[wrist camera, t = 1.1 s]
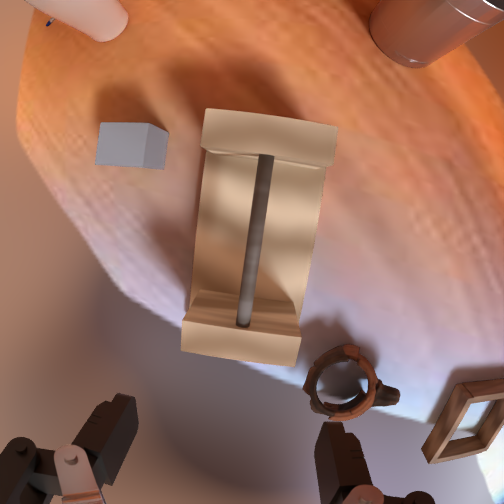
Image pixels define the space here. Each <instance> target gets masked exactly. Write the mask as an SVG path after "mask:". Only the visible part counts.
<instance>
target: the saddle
mask: <svg viewBox="0 0 504 504" xmlns="http://www.w3.org/2000/svg"><path fill="white" fill-rule="evenodd" d="M168 137H169V133H168V132H166V131H164V130H162V129H160V128H158V127H156V126H154V125H152V124H150V123H129V122H101V124H100V131H99V137H98V144H97V152H96V160H95V165H109V166H122V167H140V168H151V169H162V170H164V165H165V158H166V150H167V143H168Z"/></svg>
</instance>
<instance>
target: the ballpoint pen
mask: <svg viewBox="0 0 504 504" xmlns="http://www.w3.org/2000/svg"><path fill="white" fill-rule="evenodd" d="M54 20H55V19H54V18H51V19H50V20H49V21H48V23H47V24H46V26H49V25H50V24H51V23H52V22H53V21H54Z"/></svg>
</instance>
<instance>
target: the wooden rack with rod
mask: <svg viewBox="0 0 504 504" xmlns="http://www.w3.org/2000/svg"><path fill="white" fill-rule="evenodd" d="M337 134H338V127H336V126H331V125H326V124H321V123H316V122H310V121H305V120H299V119H293V118H287V117H280V116H273V115H266V114H258V113H250V112H242V111H232V110H222V109H210V108H206V111H205V117H204V123H203V130H202V136H201V143H200V146H201V147H202V148H204V149H206V157H205V165H204V172H203V180H202V188H201V196H200V204H199V213H198V221H197V231H196V240H195V250H194V260H193V271H192V282H191V295H190V308H189V309H188V311H187V313H186V315H185V317H184V318H183V320H182V336H181V351H186V352H191V353H197V354H202V355H208V356H215V357H221V358H227V359H234V360H241V361H248V362H255V363H263V364H272V365H280V366H290V367H295V364H296V360H297V356H298V351H299V347H300V343H301V338H302V336H301V332H300V328H299V319H300V314H301V310H302V305H303V300H304V295H305V290H306V285H307V280H308V274H309V269H310V264H311V258H312V253H313V247H314V242H315V236H316V230H317V224H318V218H319V212H320V206H321V200H322V193H323V187H324V180H325V173H326V167H328V166H332V165H333V164H334V157H335V150H336V142H337Z"/></svg>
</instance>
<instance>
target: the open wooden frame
mask: <svg viewBox="0 0 504 504" xmlns="http://www.w3.org/2000/svg"><path fill="white" fill-rule="evenodd" d="M496 399H497V401H496V403H495V405H494V406H493V408H492V410H491V412H490V413H489V415H488V417H487V419H486V420H485V422H484V424H483V425H482V427H481V428H480V430H479V432H478V433H477V435H475V436H471V437H466V438H461V439H457V440H451V441H449V440H450V439H451V437H452V435H453V434H454V432H455V431H456V429H457V427H458V426H459V424H460V422H461V420H462V419H463V417H464V415H465V413H466V412H467V410H468V408H469V406H470V404H471V403H478V402H484V401H491V400H496ZM503 425H504V378H503V379H495V380H486V381H476V382H465V383H462V384H456V386H455V388H454V390H453V392H452V394H451V396H450V398H449V400H448V402H447V404H446V406H445V408H444V410H443V412H442V414H441V415H440V417H439V419H438V421H437V423H436V424H435V426H434V428H433V430H432V431H431V433H430V435H429V436H428V438H427V440H426V441H425V443H424V445H423V446H422V448H421V450H422V452H423V454H424V456H425V458H426V460H427V462H428V464H432V463H434V464H435V463H440V462H445V461H450V460H454V459H459V458H463V457H467V456H471V455H475V454H478V453H482V452H483V451H487V449H488V448H489V446H490V445H491V443H492V442H493V440H494V439H495V437H496V436H497V434H498V433H499V431H500V430H501V428H502V426H503Z"/></svg>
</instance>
